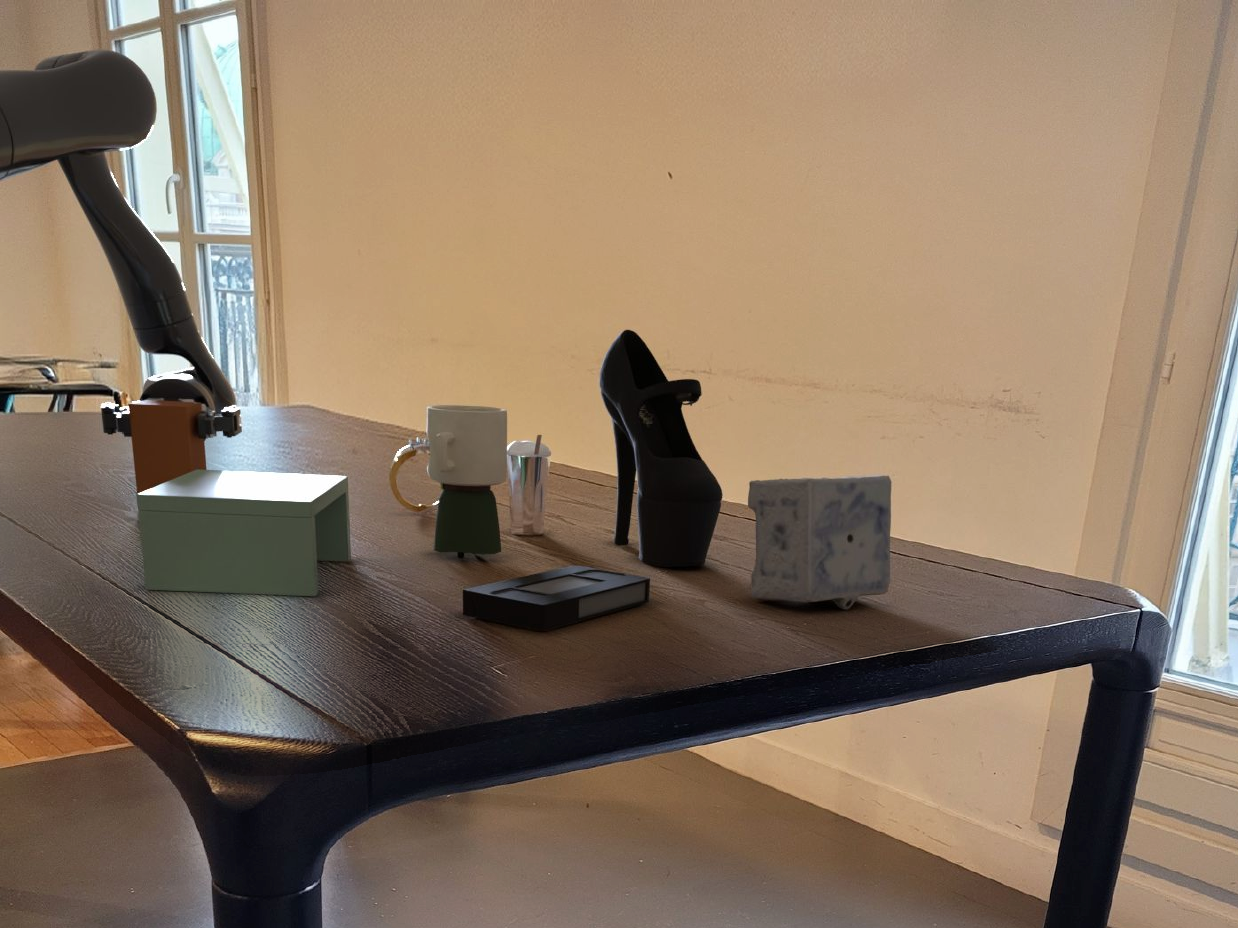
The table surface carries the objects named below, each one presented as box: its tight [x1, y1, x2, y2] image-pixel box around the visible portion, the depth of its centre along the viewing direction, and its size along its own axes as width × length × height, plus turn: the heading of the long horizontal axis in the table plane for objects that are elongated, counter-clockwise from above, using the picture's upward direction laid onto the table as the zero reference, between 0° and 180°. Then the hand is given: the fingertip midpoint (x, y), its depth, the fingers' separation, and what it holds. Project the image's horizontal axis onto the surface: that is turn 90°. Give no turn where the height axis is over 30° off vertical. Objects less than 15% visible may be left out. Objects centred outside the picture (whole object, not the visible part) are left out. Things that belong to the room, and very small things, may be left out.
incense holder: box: [747, 474, 892, 611], centre depth 105 cm, size 10×8×10 cm
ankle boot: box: [127, 400, 208, 521], centre depth 128 cm, size 12×6×11 cm, turn 92°
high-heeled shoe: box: [598, 329, 723, 568], centre depth 119 cm, size 8×19×20 cm, turn 32°
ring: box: [389, 436, 438, 516], centre depth 138 cm, size 7×3×8 cm, turn 100°
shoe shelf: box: [135, 469, 352, 597], centre depth 105 cm, size 13×16×7 cm
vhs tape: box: [462, 564, 651, 632], centre depth 99 cm, size 8×14×2 cm, turn 147°
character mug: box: [425, 404, 508, 560], centre depth 116 cm, size 11×7×13 cm, turn 161°
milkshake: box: [507, 434, 552, 537], centre depth 129 cm, size 4×5×10 cm
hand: (164, 426), depth 125 cm, fingers closed on ankle boot, 6 cm apart
